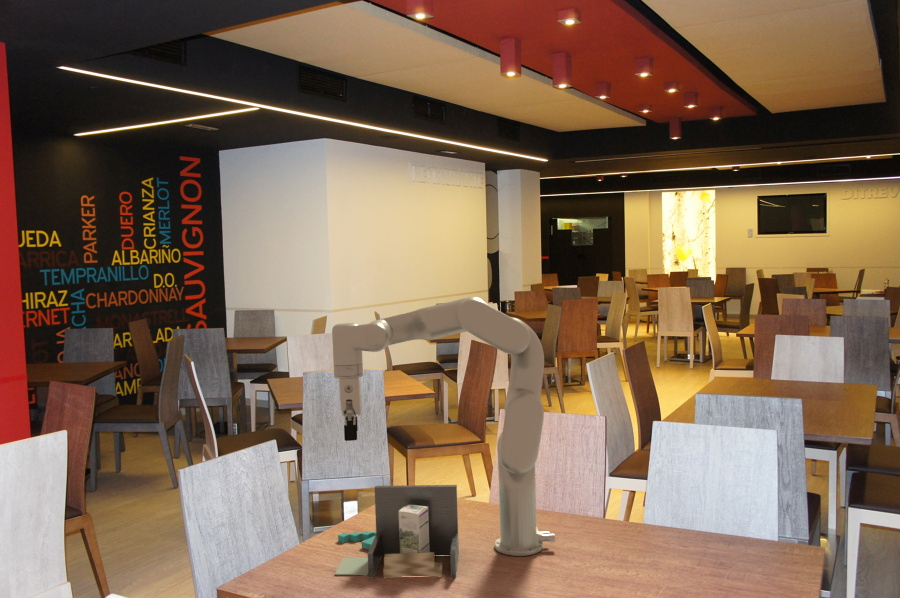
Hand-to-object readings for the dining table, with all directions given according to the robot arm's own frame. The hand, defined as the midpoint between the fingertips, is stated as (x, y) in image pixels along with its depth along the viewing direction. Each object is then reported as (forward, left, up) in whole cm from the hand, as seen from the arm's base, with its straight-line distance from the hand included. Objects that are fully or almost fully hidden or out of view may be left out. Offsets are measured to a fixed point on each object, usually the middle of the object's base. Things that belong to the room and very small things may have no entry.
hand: (351, 435), depth 196 cm
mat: (-2, +11, -31) cm, 32 cm away
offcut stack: (-17, +15, -31) cm, 38 cm away
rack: (-17, +10, -31) cm, 36 cm away
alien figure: (-8, -9, -31) cm, 34 cm away
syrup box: (-17, +10, -31) cm, 36 cm away
